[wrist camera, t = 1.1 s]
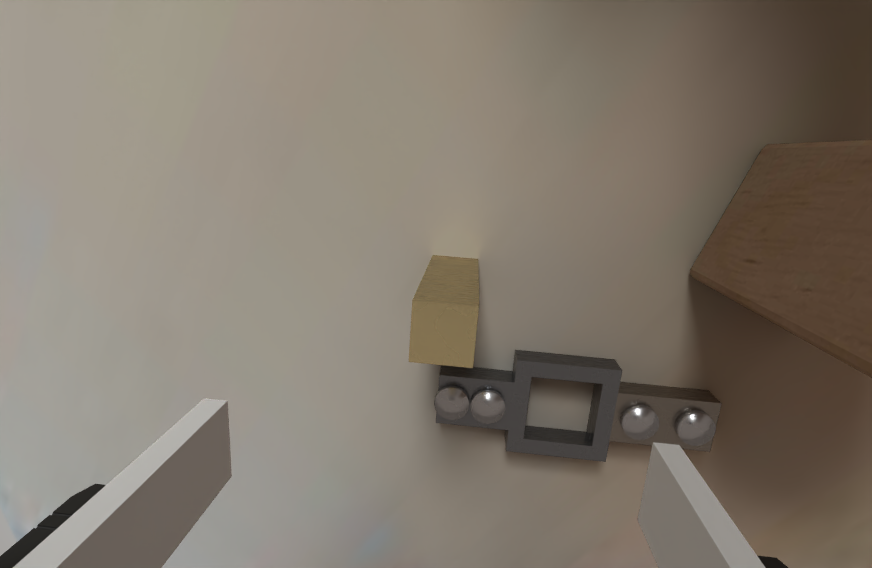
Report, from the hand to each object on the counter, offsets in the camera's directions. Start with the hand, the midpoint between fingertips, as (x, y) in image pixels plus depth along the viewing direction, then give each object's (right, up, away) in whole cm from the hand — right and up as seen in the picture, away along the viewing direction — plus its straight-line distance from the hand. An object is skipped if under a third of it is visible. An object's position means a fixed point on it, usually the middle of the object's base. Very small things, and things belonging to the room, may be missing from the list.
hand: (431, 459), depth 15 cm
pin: (+1, +6, +22) cm, 23 cm away
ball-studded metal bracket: (+10, -4, +24) cm, 26 cm away
